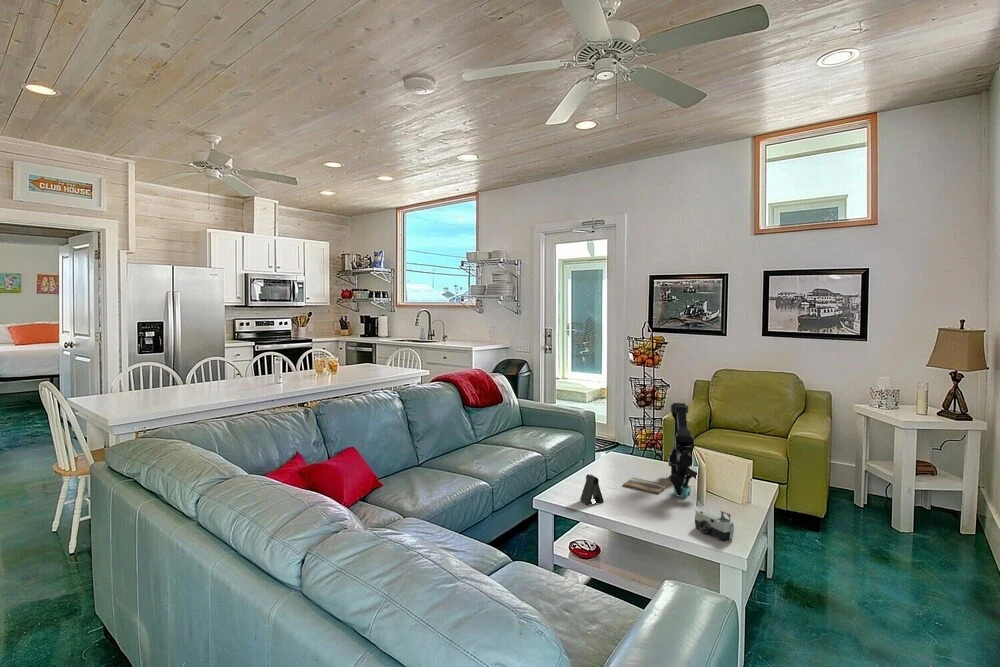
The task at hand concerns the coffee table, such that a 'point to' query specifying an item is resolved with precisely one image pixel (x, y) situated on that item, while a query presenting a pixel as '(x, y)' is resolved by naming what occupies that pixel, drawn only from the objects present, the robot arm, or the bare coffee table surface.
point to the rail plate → (645, 485)
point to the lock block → (684, 490)
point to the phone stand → (591, 490)
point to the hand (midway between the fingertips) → (682, 492)
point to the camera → (714, 524)
